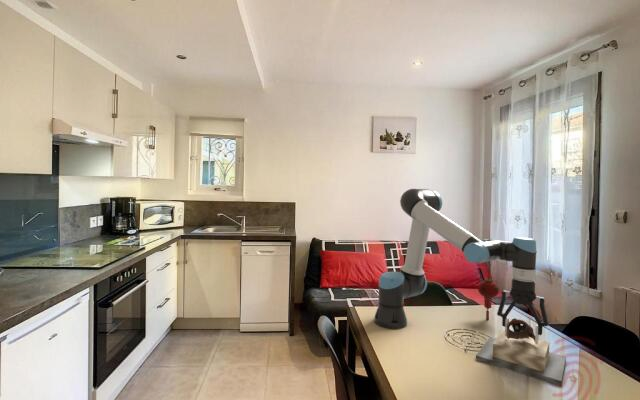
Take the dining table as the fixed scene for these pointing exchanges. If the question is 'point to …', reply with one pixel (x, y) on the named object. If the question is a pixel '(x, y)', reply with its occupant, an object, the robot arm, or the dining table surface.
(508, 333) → the pottery mug
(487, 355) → the build base
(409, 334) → the dining table surface
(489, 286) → the lantern
